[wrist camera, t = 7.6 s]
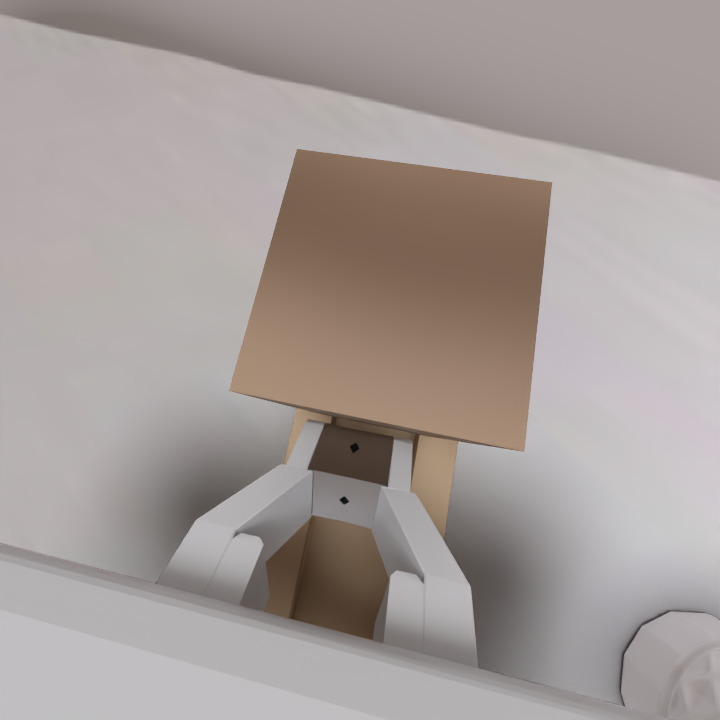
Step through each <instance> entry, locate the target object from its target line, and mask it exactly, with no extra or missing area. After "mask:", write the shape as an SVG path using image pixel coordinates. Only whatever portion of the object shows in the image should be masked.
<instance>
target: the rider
mask: <svg viewBox="0 0 720 720" xmlns="http://www.w3.org/2000/svg"><path fill="white" fill-rule="evenodd" d="M551 187H552V182H544V181H536V180H529V179H521V178H514V177H506V176H498V175H491V174H483V173H475V172H468V171H460V170H452V169H445V168H437V167H429V166H422V165H414V164H407V163H399V162H391V161H384V160H376V159H368V158H361V157H353V156H345V155H338V154H330V153H323V152H315V151H307V150H300V149H297V152H296V155H295V159H294V162H293V166H292V169H291V173H290V177H289V180H288V184H287V187H286V191H285V194H284V198H283V201H282V205H281V209H280V212H279V216H278V219H277V223H276V226H275V230H274V233H273V237H272V241H271V244H270V248H269V251H268V255H267V258H266V262H265V265H264V269H263V273H262V276H261V280H260V283H259V287H258V290H257V294H256V297H255V301H254V304H253V308H252V312H251V315H250V319H249V322H248V326H247V329H246V333H245V336H244V340H243V344H242V347H241V351H240V354H239V358H238V361H237V365H236V368H235V372H234V376H233V379H232V383H231V386H230V390H229V391H232V392H236V393H240V394H244V395H248V396H252V397H256V398H260V399H264V400H268V401H271V402H275V403H279V404H283V405H287V406H291V407H295V408H299V409H303V410H307V411H311V412H315V413H319V414H323V415H327V416H332V417H337V418H342V419H347V420H352V421H356V422H361V423H366V424H371V425H376V426H381V427H385V428H390V429H395V430H400V431H405V432H409V433H414V434H419V435H424V436H429V437H435V438H441V439H448V440H454V441H460V442H467V443H473V444H479V445H486V446H492V447H498V448H505V449H511V450H517V451H524V448H525V438H526V429H527V419H528V409H529V400H530V390H531V380H532V371H533V361H534V352H535V342H536V332H537V323H538V313H539V303H540V294H541V284H542V274H543V265H544V255H545V245H546V236H547V226H548V216H549V207H550V197H551Z"/></svg>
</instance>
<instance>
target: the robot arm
mask: <svg viewBox="0 0 720 720" xmlns="http://www.w3.org/2000/svg"><path fill="white" fill-rule="evenodd" d="M412 450H413V442H412V440H409V439H403V438H398V437H394V438H393V436H388V435H383V434H378V433H372V432H367V431H362V430H356V429H351V428H347V427H343V426H338V425H334V424H330V423H324V422H319V421H315V420H311V419H308V420H307V421H306V422H305V424H304V426H303V429H302V431H301V433H300V435H299V437H298V439H297V442H296V444H295V446H294V448H293V450H292V453H291V455H290V457H289V459H288V461H287V464H286V465H284V464H280V465H278V466H277V467H275V468H273V469H272V470H270V471H269V472H267V473H266V474H264V475H263V476H261V477H260V478H258V479H257V480H255V481H254V482H252V483H251V484H249V485H248V486H246V487H245V488H243V489H242V490H240V491H239V492H237V493H236V494H234V495H233V496H231V497H230V498H228V499H227V500H225V501H224V502H222V503H221V504H219V505H218V506H216V507H215V508H213V509H212V510H210V511H209V512H207V513H205V514H204V515H202V516H201V517H199V518H198V519H196V521H195V522H194V524H193V525H192V527H191V529H190V530H189V532H188V533H187V535H186V536H185V538H184V540H183V541H182V543H181V544H180V546H179V547H178V549H177V551H176V552H175V554H174V555H173V557H172V558H171V560H170V562H169V563H168V565H167V566H166V568H165V569H164V571H163V573H162V574H161V576H160V577H159V579H158V580H157V582H156V583H152V582H148V581H145V580H141V579H137V578H133V577H129V576H126V575H122V574H118V573H114V572H110V571H106V570H103V569H99V568H95V567H91V566H87V565H84V564H80V563H76V562H72V561H68V560H64V559H61V558H57V557H53V556H49V555H45V554H42V553H38V552H34V551H30V550H26V549H22V548H19V547H15V546H11V545H7V544H3V543H0V720H675V719H671V718H667V717H663V716H660V715H656V714H652V713H648V712H644V711H640V710H637V709H633V708H629V707H625V706H621V705H618V704H614V703H610V702H606V701H602V700H599V699H595V698H591V697H587V696H583V695H579V694H576V693H572V692H568V691H564V690H560V689H557V688H553V687H549V686H545V685H541V684H538V683H534V682H530V681H526V680H522V679H518V678H515V677H511V676H507V675H503V674H499V673H496V672H492V671H488V670H484V669H480V668H479V667H478V657H477V646H476V636H475V625H474V615H473V604H472V594H471V586H470V584H469V583H468V581H467V579H466V578H465V576H464V574H463V572H462V571H461V569H460V567H459V566H458V564H457V562H456V561H455V559H454V557H453V555H452V554H451V552H450V550H449V549H448V547H447V545H446V544H445V542H444V540H443V538H442V537H441V535H440V533H439V532H438V530H437V528H436V527H435V525H434V523H433V521H432V520H431V518H430V516H429V515H428V513H427V511H426V510H425V508H424V506H423V504H422V503H421V501H420V499H419V498H418V496H417V494H416V493H412V492H410V487H411V469H412ZM311 515H314V516H319V517H324V518H329V519H334V520H339V521H344V522H347V523H351V524H355V525H359V526H363V527H367V528H371V529H372V533H373V536H374V538H375V541H376V544H377V547H378V550H379V553H380V555H381V558H382V561H383V564H384V567H385V569H386V572H387V575H388V578H389V582H388V585H387V588H386V591H385V594H384V597H383V600H382V603H381V606H380V609H379V612H378V615H377V618H376V621H375V627H374V635H373V640H370V639H366V638H362V637H358V636H355V635H351V634H347V633H343V632H339V631H335V630H332V629H328V628H324V627H320V626H316V625H313V624H309V623H305V622H301V621H297V620H293V619H290V618H286V617H282V616H278V615H274V614H271V613H267V612H264V610H265V607H266V604H267V601H268V598H269V587H268V578H267V570H266V561H267V560H268V559H269V558H270V557H271V556H272V555H273V554H274V553H275V552H276V551H277V550H278V549H279V548H280V547H281V546H282V545H283V544H284V543H285V542H287V541H288V540H289V539H290V538H291V537H292V536H293V535H294V534H295V533H296V532H297V531H298V530H299V529H300V528H301V527H302V526H303V525H304V524H305V523H306V522H307V521H308V520H309V519H310V518H311Z"/></svg>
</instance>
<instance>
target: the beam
mask: <svg viewBox="0 0 720 720" xmlns="http://www.w3.org/2000/svg"><path fill="white" fill-rule="evenodd" d="M308 419H311V420H315V421H319V422H324V423H330V424H334V425H338V426H343V427H347V428H351V429H356V430H362V431H367V432H372V433H378V434H383V435H388V436H393V438H394V437H398V438H403V439H409V440H412V442H413V450H412V469H411V487H410V492H412V493H416V494H417V496H418V498H419V499H420V501H421V503H422V504H423V506H424V508H425V510H426V511H427V513H428V515H429V516H430V518H431V520H432V521H433V523H434V525H435V527H436V528H437V530H438V532H439V533H440V535H441V537H442V538H443V540H444V537H445V529H446V522H447V515H448V508H449V501H450V494H451V487H452V480H453V473H454V466H455V459H456V452H457V445H458V441H454V440H448V439H441V438H435V437H429V436H424V435H419V434H414V433H409V432H405V431H400V430H395V429H390V428H385V427H381V426H376V425H371V424H366V423H361V422H356V421H352V420H347V419H342V418H337V417H332V416H327V415H323V414H319V413H315V412H311V411H307V410H303V409H299V408H297V410H296V414H295V418H294V422H293V427H292V431H291V435H290V439H289V443H288V448H287V452H286V456H285V460H284V465H286V464H287V461H288V459H289V457H290V455H291V453H292V450H293V448H294V446H295V444H296V442H297V439H298V437H299V435H300V433H301V431H302V429H303V426H304V424H305V422H306V421H307V420H308ZM266 570H267V578H268V587H269V598H268V601H267V604H266V607H265V610H264V612H267V613H271V614H274V615H278V616H282V617H286V618H290V619H293V620H297V621H301V622H305V623H309V624H313V625H316V626H320V627H324V628H328V629H332V630H335V631H339V632H343V633H347V634H351V635H355V636H358V637H362V638H366V639H370V640H373V635H374V627H375V621H376V618H377V615H378V612H379V609H380V606H381V603H382V600H383V597H384V594H385V591H386V588H387V585H388V582H389V578H388V575H387V572H386V569H385V567H384V564H383V561H382V558H381V555H380V553H379V550H378V547H377V544H376V541H375V538H374V536H373V533H372V529H371V528H367V527H363V526H359V525H355V524H351V523H347V522H344V521H339V520H334V519H329V518H324V517H319V516H314V515H311V518H310V519H309V520H308V521H307V522H306V523H305V524H304V525H303V526H302V527H301V528H300V529H299V530H298V531H297V532H296V533H295V534H294V535H293V536H292V537H291V538H290V539H289V540H288V541H287V542H285V543H284V544H283V545H282V546H281V547H280V548H279V549H278V550H277V551H276V552H275V553H274V554H273V555H272V556H271V557H270V558H269V559H268V560H267V561H266Z"/></svg>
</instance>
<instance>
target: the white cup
mask: <svg viewBox="0 0 720 720" xmlns="http://www.w3.org/2000/svg"><path fill="white" fill-rule="evenodd" d="M621 695H622V698H623V701H624V704H625V707H629V708H633V709H637V710H640V711H644V712H648V713H652V714H656V715H660V716H663V717H667V718H671V719H675V720H720V619H718V618H716V617H714V616H712V615H710V614H707V613H694V612H675V611H671V612H668V613H666V614H664V615H662V616H660V617H658V618H656V619H654V620H652V621H650V622H649V623H647V624H645V625H643V626H642V627H641V628H640V630H639V631H638V633H637V635H636V636H635V638H634V639H633V641H632V642H631V644H630V646H629V647H628V649H627V650H626V652H625V654H624V661H623V673H622V685H621Z"/></svg>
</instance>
